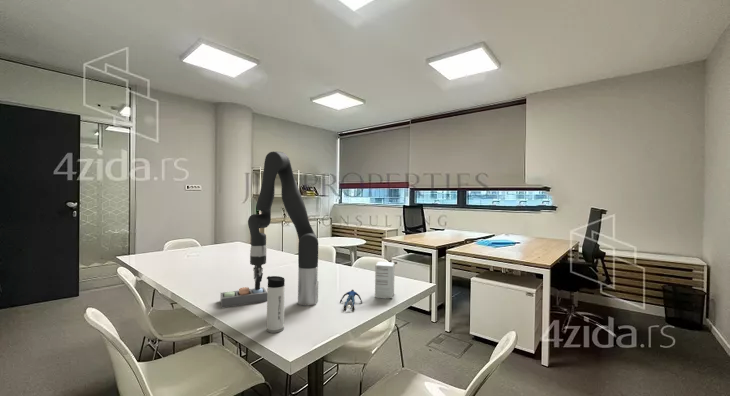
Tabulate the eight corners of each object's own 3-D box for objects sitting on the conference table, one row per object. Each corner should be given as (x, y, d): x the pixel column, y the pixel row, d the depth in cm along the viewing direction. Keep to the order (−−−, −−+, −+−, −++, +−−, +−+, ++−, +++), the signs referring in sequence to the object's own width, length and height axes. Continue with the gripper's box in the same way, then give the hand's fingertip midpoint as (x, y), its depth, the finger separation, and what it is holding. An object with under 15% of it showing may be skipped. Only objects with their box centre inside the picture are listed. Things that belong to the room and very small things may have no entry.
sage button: (234, 298, 141) (234, 291, 141) (235, 301, 137) (235, 293, 137) (223, 299, 139) (223, 292, 139) (224, 302, 135) (224, 295, 135)
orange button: (248, 293, 144) (248, 286, 144) (249, 296, 140) (249, 289, 140) (238, 295, 142) (238, 288, 142) (239, 298, 138) (239, 290, 138)
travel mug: (267, 326, 113) (269, 274, 114) (285, 325, 114) (286, 274, 114) (263, 333, 107) (264, 279, 107) (282, 333, 108) (283, 278, 108)
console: (263, 295, 150) (263, 287, 150) (267, 301, 141) (267, 292, 141) (220, 301, 140) (220, 292, 140) (221, 307, 132) (221, 298, 132)
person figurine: (360, 315, 130) (363, 297, 148) (361, 306, 129) (363, 288, 147) (336, 314, 130) (341, 296, 148) (336, 305, 130) (341, 287, 148)
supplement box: (377, 292, 158) (377, 261, 158) (394, 293, 156) (394, 262, 157) (374, 297, 149) (375, 264, 149) (392, 299, 147) (393, 265, 147)
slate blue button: (261, 294, 147) (262, 287, 147) (263, 297, 143) (263, 289, 143) (252, 295, 145) (252, 288, 145) (253, 298, 141) (253, 291, 141)
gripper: (248, 252, 148) (247, 286, 148) (252, 257, 136) (251, 294, 136) (263, 251, 152) (262, 285, 151) (268, 256, 140) (267, 292, 140)
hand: (257, 289), depth 144 cm, fingers closed
